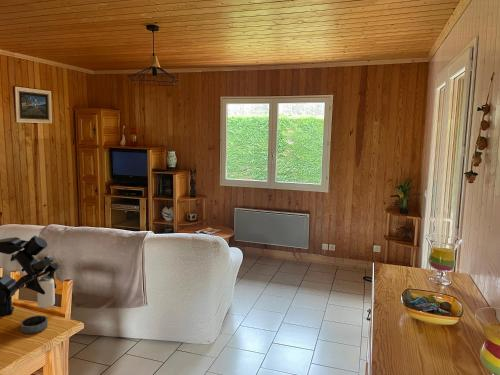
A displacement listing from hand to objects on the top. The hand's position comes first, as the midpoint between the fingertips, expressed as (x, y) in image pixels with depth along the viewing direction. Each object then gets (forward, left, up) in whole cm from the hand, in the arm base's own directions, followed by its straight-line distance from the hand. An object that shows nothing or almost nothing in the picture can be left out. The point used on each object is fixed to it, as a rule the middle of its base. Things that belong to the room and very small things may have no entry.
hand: (50, 291), depth 158 cm
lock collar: (+7, -5, -12) cm, 15 cm away
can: (-1, -2, -7) cm, 7 cm away
